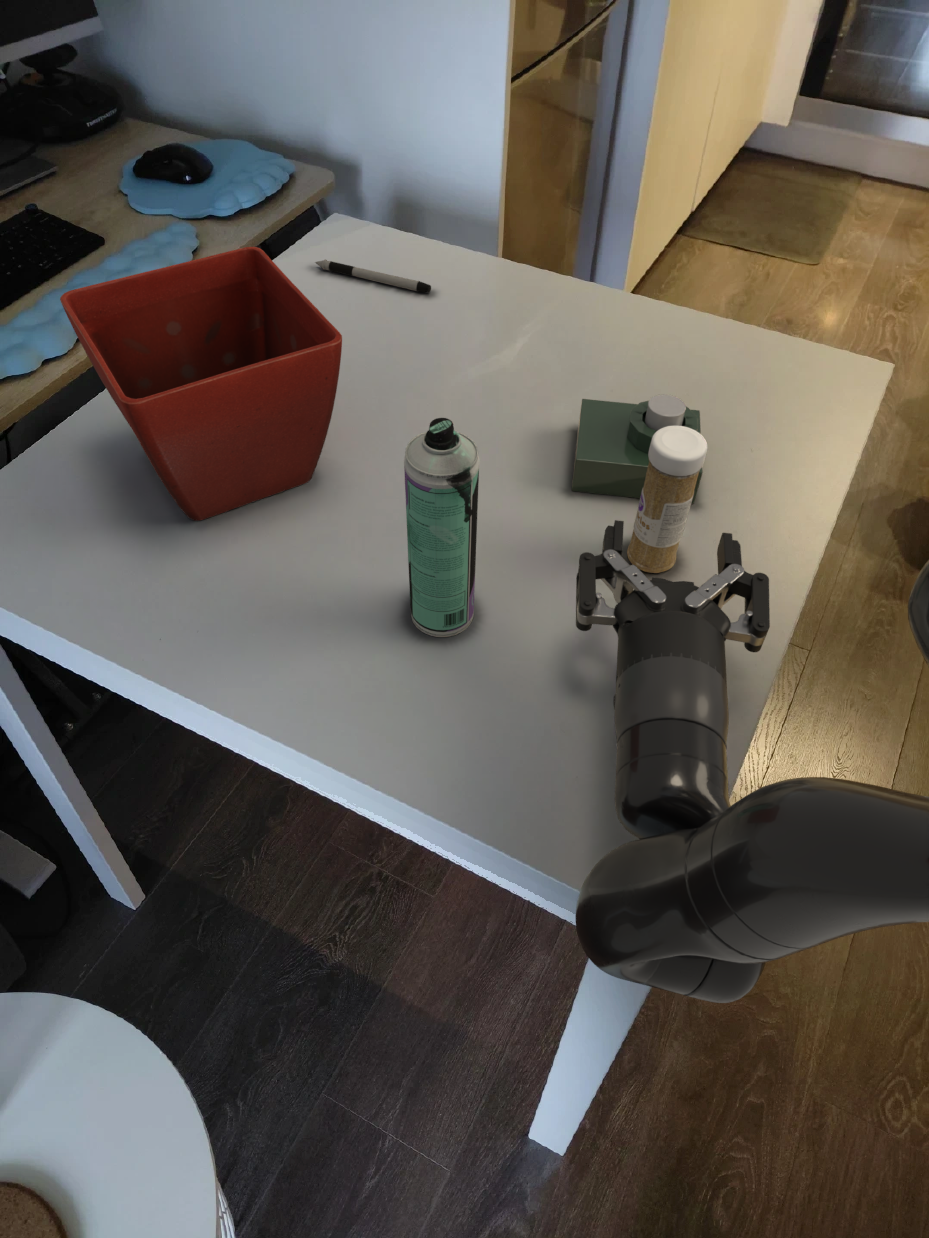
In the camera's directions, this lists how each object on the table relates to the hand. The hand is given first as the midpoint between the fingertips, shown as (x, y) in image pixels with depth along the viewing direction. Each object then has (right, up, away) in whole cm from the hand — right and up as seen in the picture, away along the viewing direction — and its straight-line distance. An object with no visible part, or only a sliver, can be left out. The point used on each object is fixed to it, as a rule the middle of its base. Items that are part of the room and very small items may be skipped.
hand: (670, 534), depth 73 cm
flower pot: (-40, +8, +18) cm, 45 cm away
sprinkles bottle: (+1, -1, +11) cm, 11 cm away
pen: (-28, +36, +43) cm, 63 cm away
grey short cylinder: (+3, +12, +15) cm, 19 cm away
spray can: (-18, -7, +6) cm, 20 cm away
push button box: (+1, +9, +19) cm, 21 cm away
